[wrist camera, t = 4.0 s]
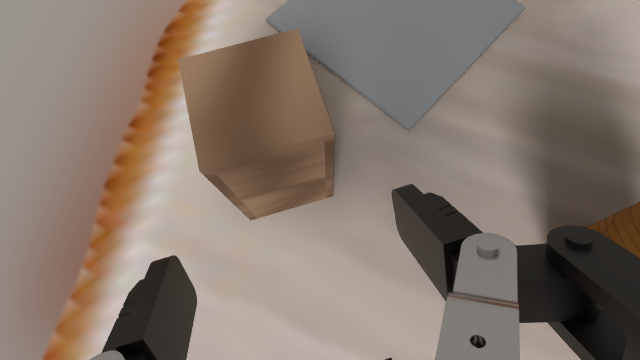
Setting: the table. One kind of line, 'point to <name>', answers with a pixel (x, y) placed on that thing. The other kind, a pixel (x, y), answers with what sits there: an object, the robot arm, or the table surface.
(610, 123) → the table surface
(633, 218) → the disposable coffee cup
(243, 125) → the walnut block
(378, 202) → the table surface
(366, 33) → the grey mat
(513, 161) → the table surface
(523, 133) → the table surface
